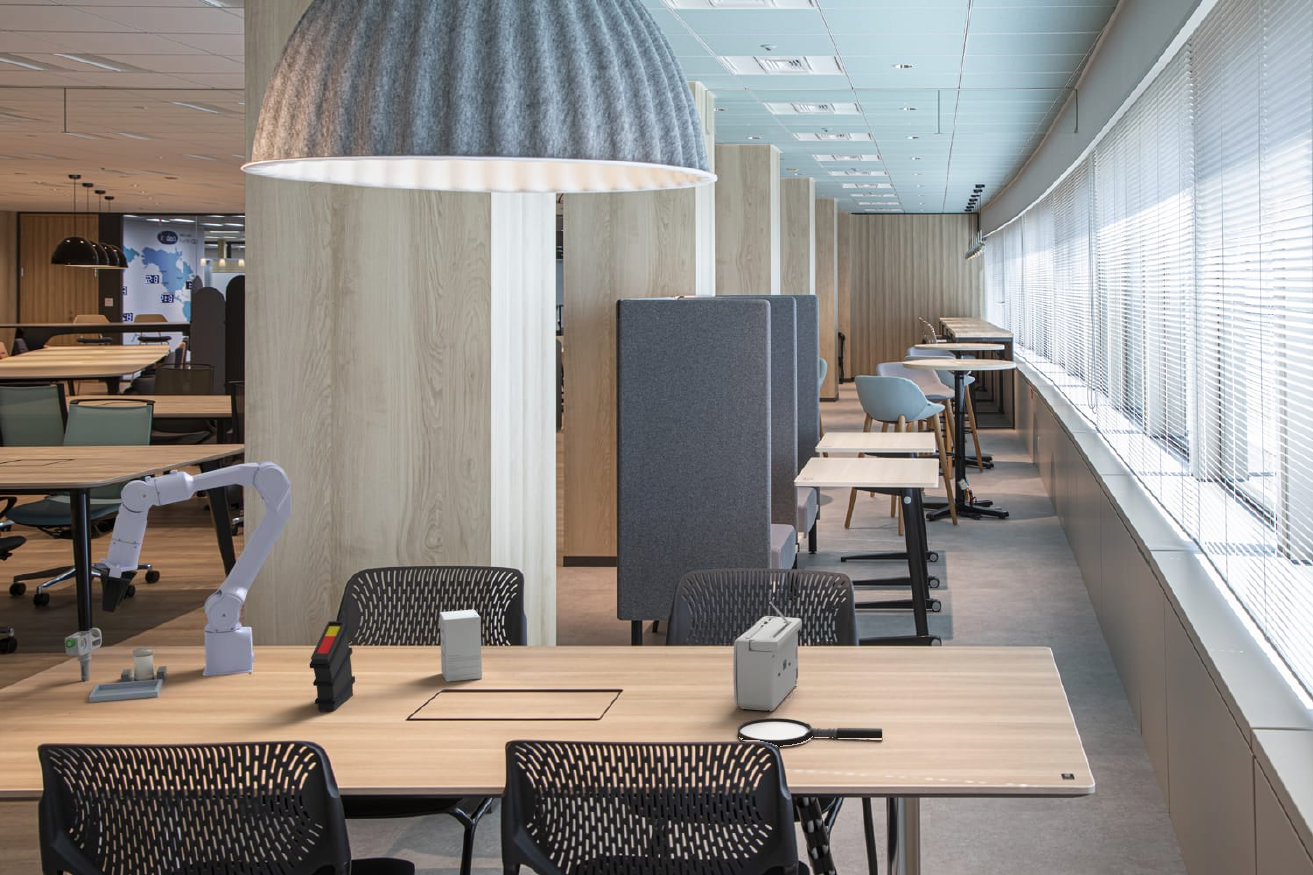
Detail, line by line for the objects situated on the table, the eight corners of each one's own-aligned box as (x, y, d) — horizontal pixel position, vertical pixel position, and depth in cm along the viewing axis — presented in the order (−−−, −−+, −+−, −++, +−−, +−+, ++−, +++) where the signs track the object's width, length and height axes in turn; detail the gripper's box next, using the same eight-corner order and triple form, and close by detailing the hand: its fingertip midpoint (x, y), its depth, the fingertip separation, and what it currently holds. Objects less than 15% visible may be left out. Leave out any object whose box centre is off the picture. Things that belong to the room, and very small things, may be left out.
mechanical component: (106, 675, 260) (103, 626, 259) (78, 689, 250) (76, 638, 249) (92, 675, 260) (89, 626, 259) (64, 689, 250) (61, 638, 249)
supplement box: (477, 669, 260) (475, 608, 259) (482, 679, 253) (480, 616, 252) (440, 673, 258) (439, 611, 257) (445, 682, 251) (443, 618, 250)
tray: (162, 686, 251) (162, 679, 251) (157, 699, 242) (157, 691, 242) (96, 691, 248) (96, 684, 248) (89, 704, 239) (88, 696, 239)
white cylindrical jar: (155, 676, 257) (153, 646, 257) (153, 680, 254) (151, 651, 253) (135, 677, 256) (134, 648, 256) (133, 682, 253) (131, 652, 252)
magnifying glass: (883, 753, 206) (882, 740, 206) (734, 750, 210) (734, 737, 210) (881, 730, 218) (881, 717, 218) (741, 727, 222) (740, 715, 222)
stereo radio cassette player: (762, 681, 249) (761, 579, 247) (803, 684, 246) (803, 581, 245) (732, 711, 229) (731, 601, 228) (776, 715, 227) (776, 603, 225)
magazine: (360, 682, 246) (346, 620, 238) (340, 730, 235) (325, 666, 227) (341, 681, 246) (327, 620, 239) (320, 729, 235) (304, 666, 227)
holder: (168, 676, 259) (167, 665, 259) (165, 682, 254) (165, 671, 254) (123, 679, 257) (123, 668, 256) (119, 686, 252) (119, 675, 251)
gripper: (110, 532, 259) (95, 598, 259) (99, 540, 245) (83, 610, 245) (147, 539, 261) (131, 604, 260) (138, 548, 247) (122, 617, 246)
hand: (110, 608), depth 253 cm, fingers open, 7 cm apart
